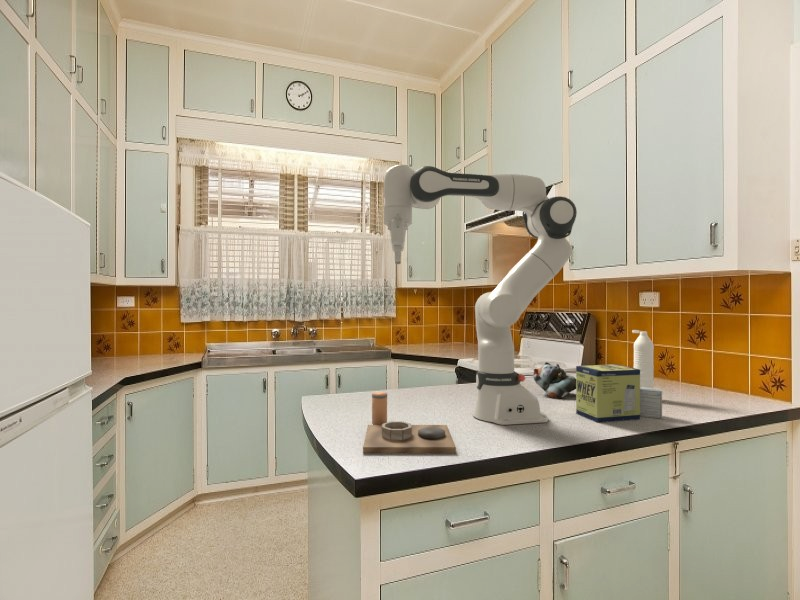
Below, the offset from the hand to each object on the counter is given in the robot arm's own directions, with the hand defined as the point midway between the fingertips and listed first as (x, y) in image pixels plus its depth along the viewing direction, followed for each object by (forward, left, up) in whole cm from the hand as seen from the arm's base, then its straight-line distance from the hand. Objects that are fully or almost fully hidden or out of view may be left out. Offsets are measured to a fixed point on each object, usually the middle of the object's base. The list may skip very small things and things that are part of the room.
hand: (397, 262), depth 134 cm
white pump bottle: (-91, -25, -48) cm, 106 cm away
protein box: (-66, 0, -48) cm, 81 cm away
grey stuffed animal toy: (-61, -30, -48) cm, 83 cm away
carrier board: (-3, +23, -48) cm, 53 cm away
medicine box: (-79, -1, -48) cm, 92 cm away
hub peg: (+5, +8, -48) cm, 49 cm away
